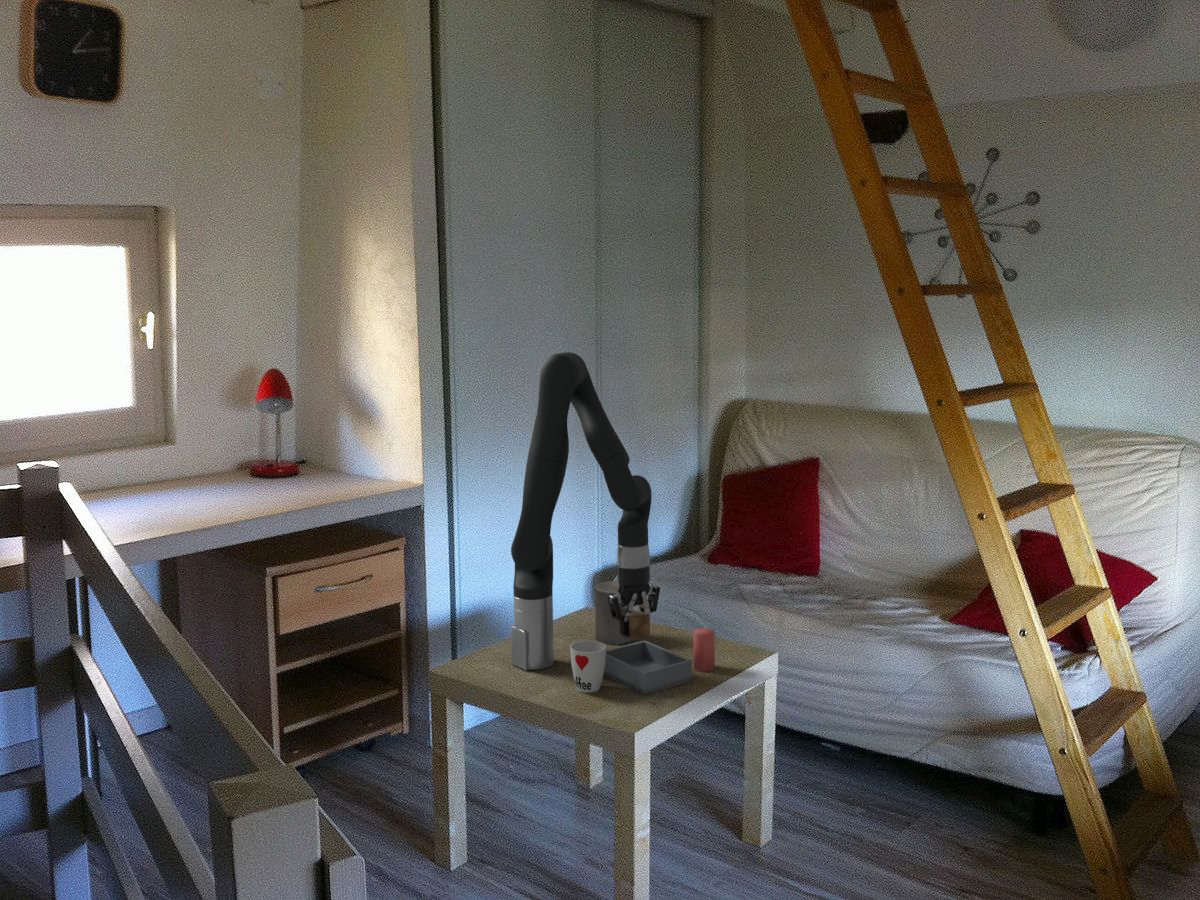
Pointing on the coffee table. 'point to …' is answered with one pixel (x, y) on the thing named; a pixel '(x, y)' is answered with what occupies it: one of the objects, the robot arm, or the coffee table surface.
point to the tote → (647, 667)
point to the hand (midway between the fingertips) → (634, 633)
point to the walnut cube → (638, 625)
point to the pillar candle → (607, 615)
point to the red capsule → (704, 649)
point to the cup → (588, 664)
